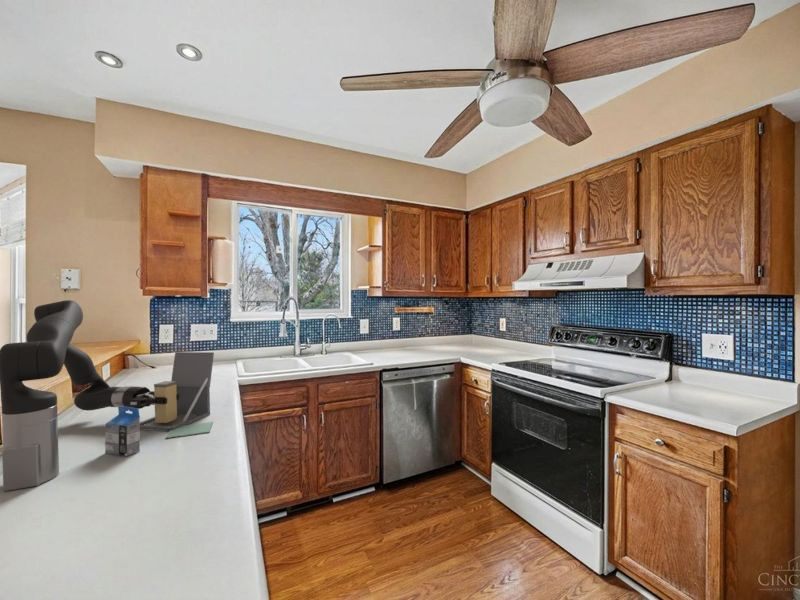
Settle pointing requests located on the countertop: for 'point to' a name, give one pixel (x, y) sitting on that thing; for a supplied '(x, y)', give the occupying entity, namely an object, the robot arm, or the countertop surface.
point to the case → (190, 387)
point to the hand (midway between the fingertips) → (172, 398)
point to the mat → (191, 430)
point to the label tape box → (123, 432)
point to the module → (168, 410)
